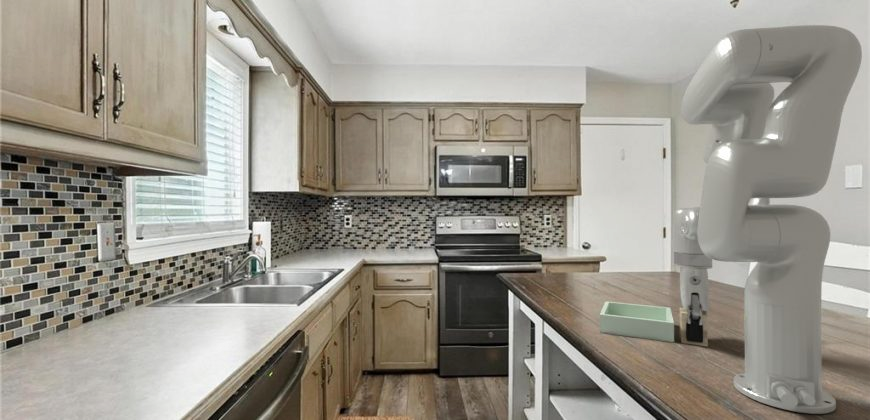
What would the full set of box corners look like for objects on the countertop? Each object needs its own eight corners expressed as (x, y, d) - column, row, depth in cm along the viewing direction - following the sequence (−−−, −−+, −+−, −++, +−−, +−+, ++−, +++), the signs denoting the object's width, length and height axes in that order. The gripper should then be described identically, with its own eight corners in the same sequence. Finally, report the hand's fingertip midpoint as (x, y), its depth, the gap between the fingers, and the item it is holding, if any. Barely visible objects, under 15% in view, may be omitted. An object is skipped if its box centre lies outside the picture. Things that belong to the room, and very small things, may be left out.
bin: (674, 342, 91) (674, 323, 91) (599, 332, 98) (599, 314, 98) (670, 324, 105) (670, 307, 105) (605, 316, 112) (605, 301, 112)
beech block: (707, 346, 88) (707, 315, 88) (681, 342, 90) (681, 312, 90) (704, 339, 92) (704, 310, 92) (679, 336, 95) (679, 307, 95)
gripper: (718, 266, 82) (718, 352, 82) (707, 257, 97) (707, 330, 97) (676, 264, 86) (676, 346, 86) (671, 255, 101) (672, 326, 101)
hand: (693, 337), depth 91 cm, fingers closed on beech block, 5 cm apart
